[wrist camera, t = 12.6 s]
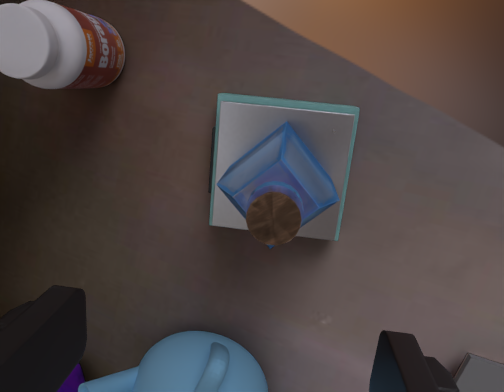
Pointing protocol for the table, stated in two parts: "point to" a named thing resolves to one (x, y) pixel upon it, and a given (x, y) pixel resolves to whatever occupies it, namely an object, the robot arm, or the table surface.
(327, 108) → the scale
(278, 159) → the perfume bottle
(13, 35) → the pill bottle
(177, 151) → the table surface
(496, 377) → the desk lamp
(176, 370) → the teapot
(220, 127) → the pan
